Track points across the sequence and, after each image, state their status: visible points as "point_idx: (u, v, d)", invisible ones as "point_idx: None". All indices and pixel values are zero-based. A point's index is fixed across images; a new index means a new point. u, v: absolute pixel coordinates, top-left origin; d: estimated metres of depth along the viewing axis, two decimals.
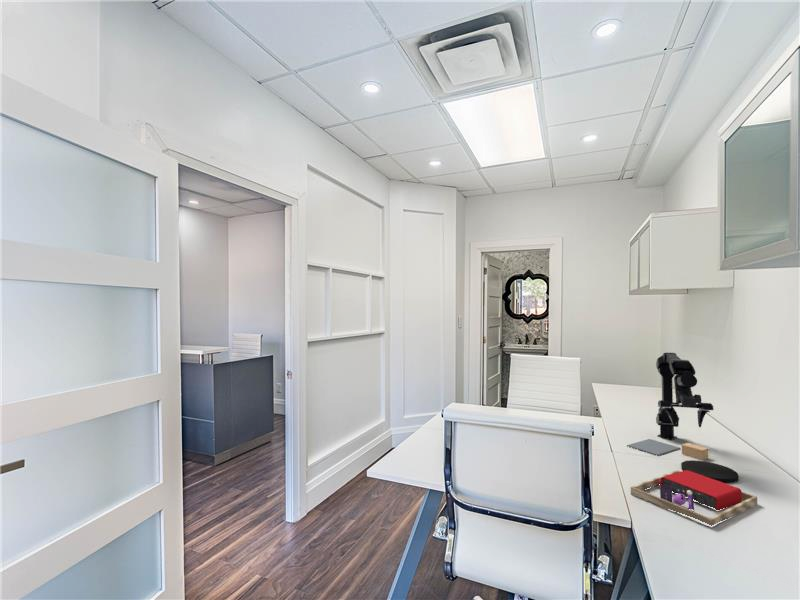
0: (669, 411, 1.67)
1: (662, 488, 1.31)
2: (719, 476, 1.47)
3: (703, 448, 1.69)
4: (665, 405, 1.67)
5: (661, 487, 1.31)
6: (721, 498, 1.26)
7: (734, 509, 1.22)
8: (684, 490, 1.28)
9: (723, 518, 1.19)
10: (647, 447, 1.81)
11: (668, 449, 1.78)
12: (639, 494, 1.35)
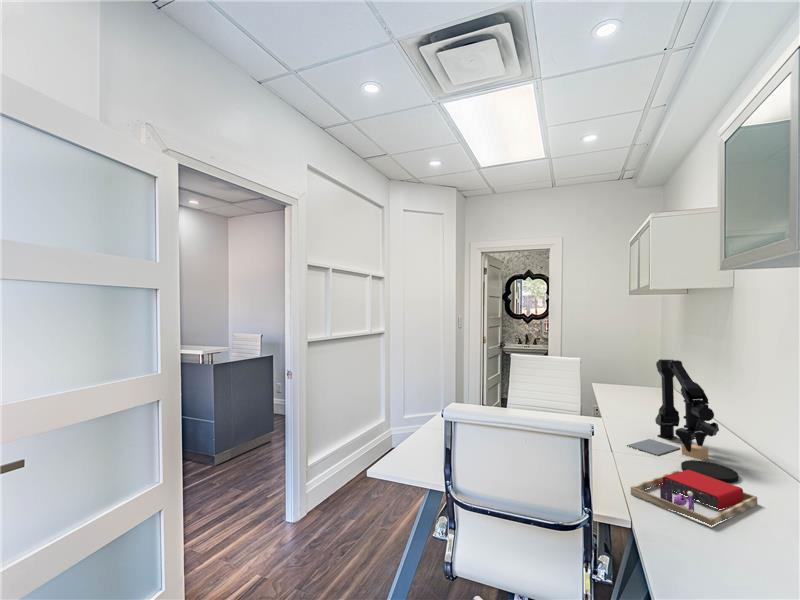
0: (691, 440, 1.67)
1: (663, 488, 1.31)
2: (719, 476, 1.47)
3: (703, 448, 1.69)
4: (692, 436, 1.66)
5: (661, 487, 1.31)
6: (723, 497, 1.27)
7: (734, 509, 1.22)
8: (685, 491, 1.27)
9: (723, 518, 1.19)
10: (647, 447, 1.81)
11: (668, 449, 1.78)
12: (639, 494, 1.35)
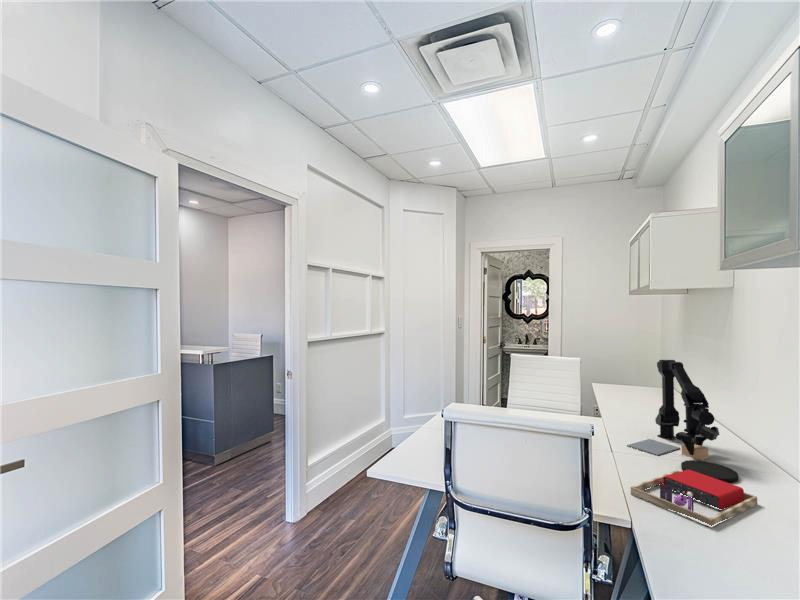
0: (693, 444, 1.68)
1: (663, 488, 1.31)
2: (719, 476, 1.47)
3: (702, 448, 1.69)
4: (692, 440, 1.65)
5: (661, 487, 1.31)
6: (724, 497, 1.27)
7: (734, 509, 1.22)
8: (684, 491, 1.27)
9: (723, 518, 1.19)
10: (647, 447, 1.81)
11: (668, 449, 1.78)
12: (639, 494, 1.35)
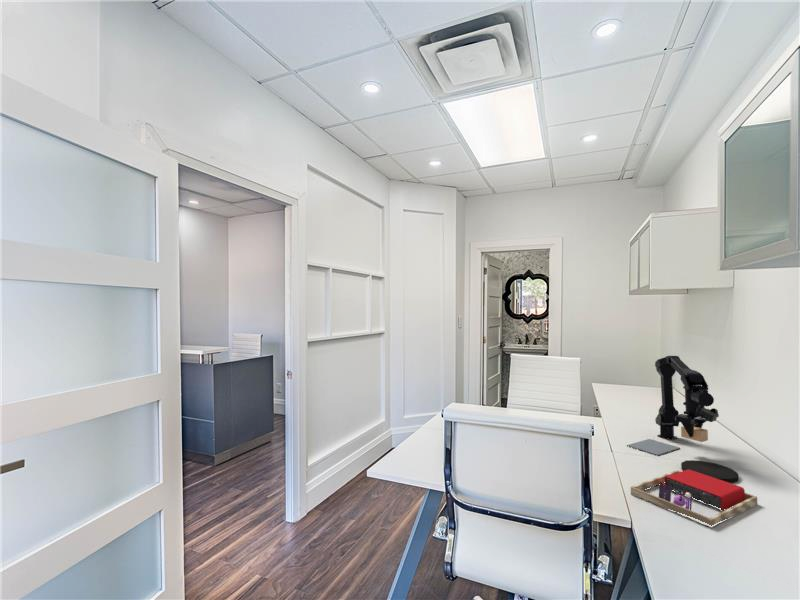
0: (693, 426, 1.68)
1: (662, 488, 1.31)
2: (719, 476, 1.47)
3: (702, 430, 1.69)
4: (692, 422, 1.66)
5: (661, 487, 1.31)
6: (726, 497, 1.26)
7: (734, 509, 1.22)
8: (683, 492, 1.27)
9: (723, 518, 1.19)
10: (647, 447, 1.81)
11: (668, 449, 1.78)
12: (639, 494, 1.35)
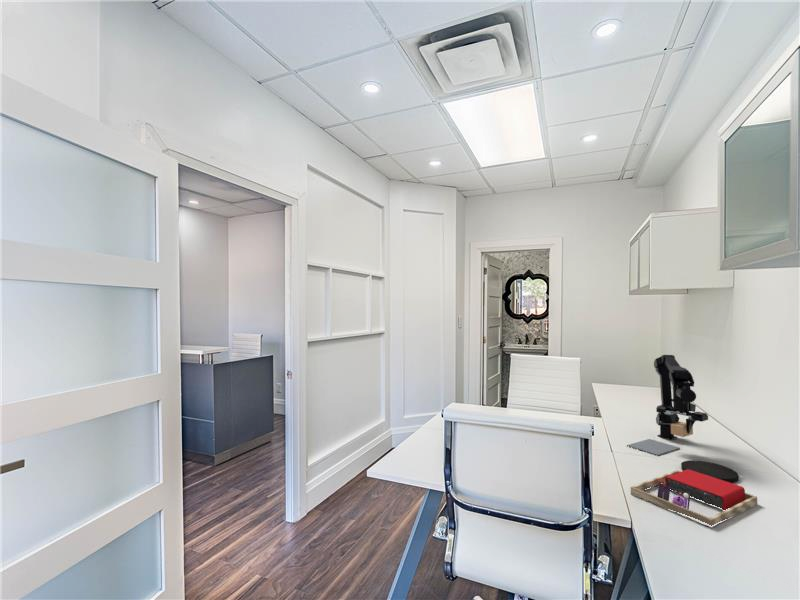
0: None
1: (661, 488, 1.31)
2: (719, 476, 1.47)
3: (684, 422, 1.77)
4: None
5: (660, 486, 1.32)
6: (727, 497, 1.27)
7: (734, 509, 1.22)
8: (681, 492, 1.26)
9: (723, 518, 1.19)
10: (647, 447, 1.81)
11: (668, 449, 1.78)
12: (639, 494, 1.35)
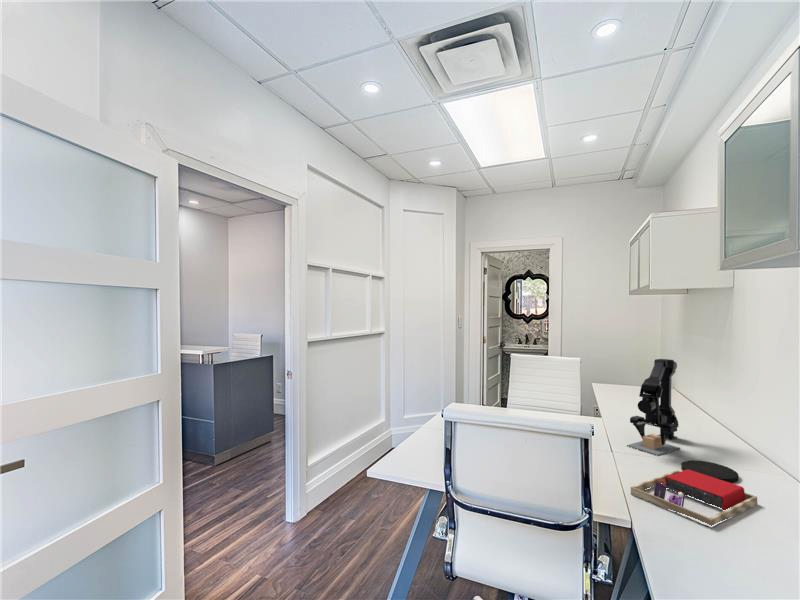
0: None
1: (657, 486, 1.32)
2: (719, 476, 1.47)
3: (656, 435, 1.84)
4: None
5: (656, 485, 1.33)
6: (727, 497, 1.27)
7: (734, 509, 1.22)
8: (676, 491, 1.27)
9: (723, 518, 1.19)
10: None
11: (668, 449, 1.78)
12: (639, 494, 1.35)
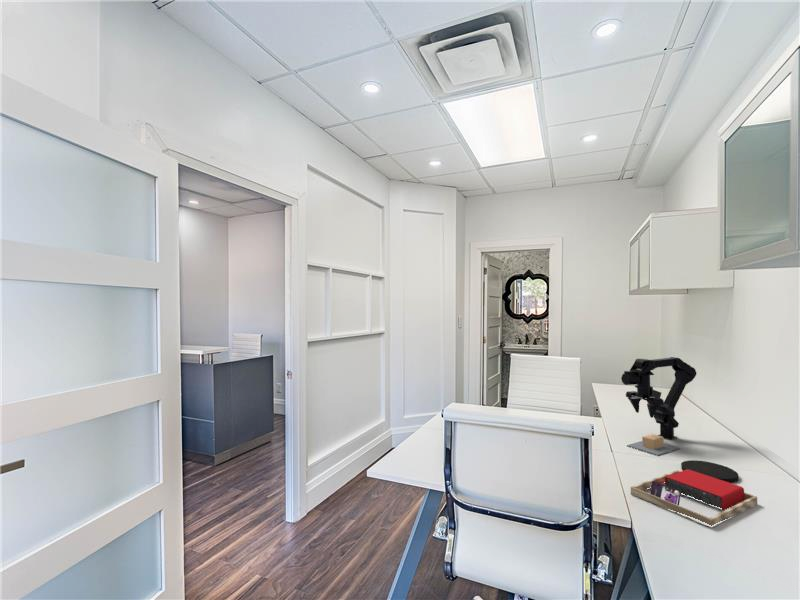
0: None
1: (654, 485, 1.33)
2: (719, 476, 1.47)
3: (656, 435, 1.84)
4: None
5: (653, 483, 1.34)
6: (726, 497, 1.27)
7: (734, 509, 1.22)
8: (672, 490, 1.28)
9: (723, 518, 1.19)
10: None
11: (668, 449, 1.78)
12: (639, 494, 1.35)
